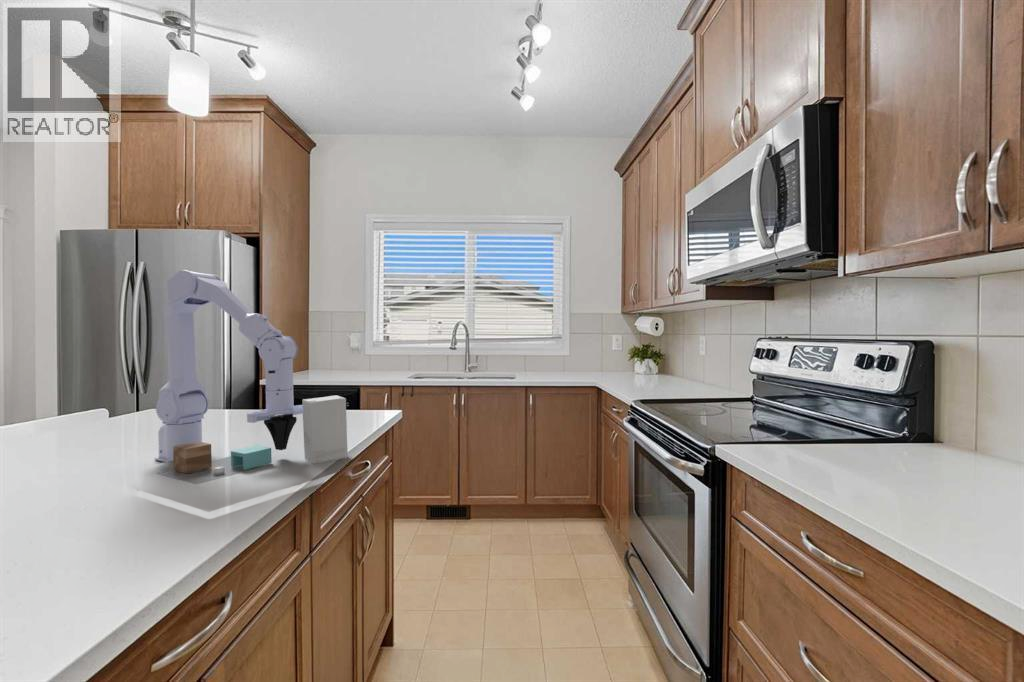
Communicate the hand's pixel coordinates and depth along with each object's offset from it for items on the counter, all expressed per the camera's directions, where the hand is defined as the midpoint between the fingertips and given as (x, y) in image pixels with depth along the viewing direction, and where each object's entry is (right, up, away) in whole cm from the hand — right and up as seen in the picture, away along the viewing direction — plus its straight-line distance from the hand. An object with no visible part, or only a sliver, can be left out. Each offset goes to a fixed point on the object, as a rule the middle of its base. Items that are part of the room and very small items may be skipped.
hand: (280, 449), depth 114 cm
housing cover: (-4, -2, -6) cm, 7 cm away
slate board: (-10, -3, -8) cm, 13 cm away
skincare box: (+10, -3, 0) cm, 11 cm away
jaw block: (-14, -2, -9) cm, 17 cm away
